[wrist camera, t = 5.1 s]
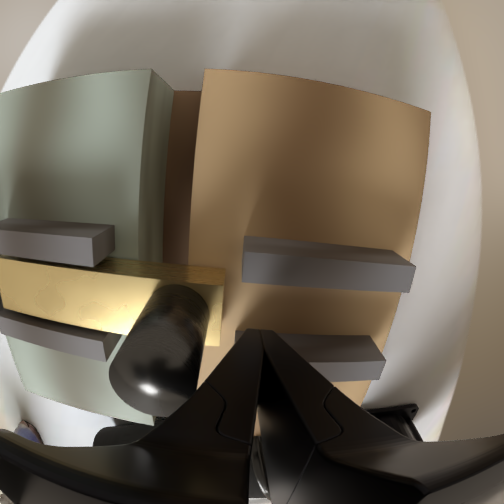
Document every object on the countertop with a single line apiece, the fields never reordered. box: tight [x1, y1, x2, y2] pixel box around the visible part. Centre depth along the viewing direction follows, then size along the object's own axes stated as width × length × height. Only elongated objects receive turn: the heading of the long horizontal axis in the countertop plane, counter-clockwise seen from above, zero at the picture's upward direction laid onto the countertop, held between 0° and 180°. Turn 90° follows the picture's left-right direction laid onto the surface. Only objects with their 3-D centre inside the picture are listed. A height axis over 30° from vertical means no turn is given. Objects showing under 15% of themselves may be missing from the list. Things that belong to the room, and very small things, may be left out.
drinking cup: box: [93, 420, 271, 500], centre depth 17 cm, size 8×8×20 cm
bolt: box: [0, 254, 226, 417], centre depth 9 cm, size 10×2×5 cm, turn 84°
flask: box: [0, 420, 43, 504], centre depth 18 cm, size 9×3×11 cm, turn 161°
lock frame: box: [0, 69, 431, 436], centre depth 13 cm, size 20×17×7 cm
